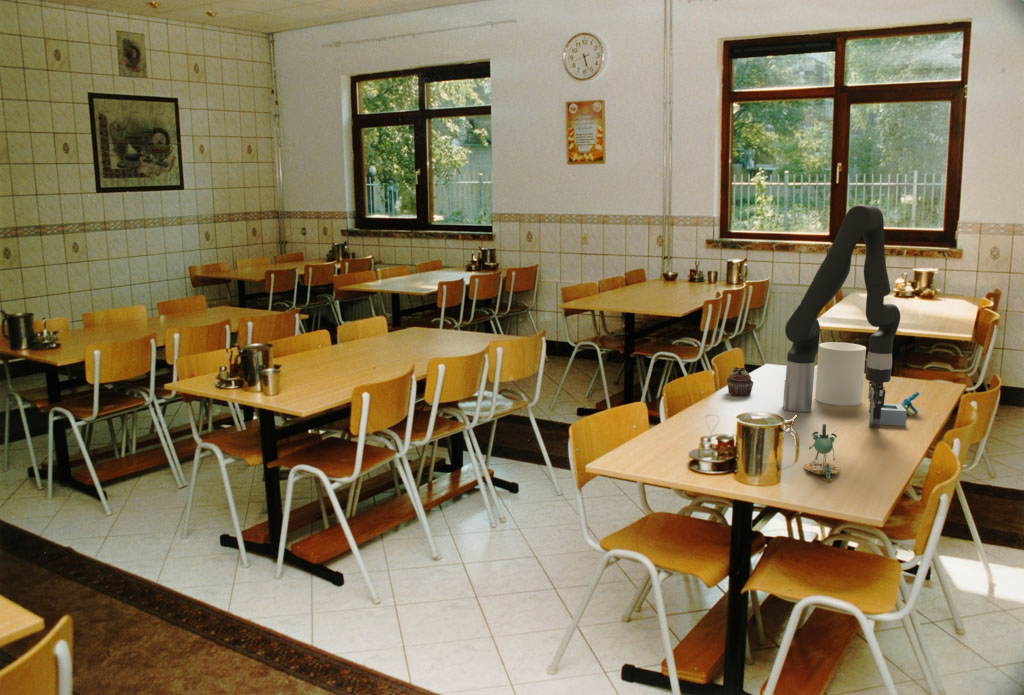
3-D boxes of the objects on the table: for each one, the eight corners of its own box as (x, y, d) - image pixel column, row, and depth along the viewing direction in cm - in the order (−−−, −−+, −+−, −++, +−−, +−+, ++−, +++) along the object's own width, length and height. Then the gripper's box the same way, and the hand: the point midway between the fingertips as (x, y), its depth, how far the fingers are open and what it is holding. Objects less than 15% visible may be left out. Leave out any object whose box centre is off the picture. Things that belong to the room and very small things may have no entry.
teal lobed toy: (898, 402, 314) (920, 387, 308) (910, 415, 313) (932, 400, 306) (888, 413, 306) (910, 397, 300) (900, 426, 305) (923, 410, 298)
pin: (869, 427, 288) (872, 397, 286) (868, 425, 291) (870, 395, 289) (879, 428, 288) (882, 398, 286) (877, 425, 290) (880, 396, 289)
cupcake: (754, 397, 327) (755, 371, 325) (727, 396, 328) (728, 370, 326) (751, 391, 336) (752, 365, 334) (725, 390, 337) (726, 364, 336)
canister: (854, 395, 331) (858, 342, 327) (867, 406, 316) (871, 351, 312) (810, 394, 333) (814, 341, 329) (820, 404, 317) (824, 349, 313)
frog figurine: (799, 480, 238) (803, 426, 237) (805, 468, 254) (808, 417, 253) (837, 485, 234) (841, 429, 233) (840, 472, 251) (844, 420, 250)
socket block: (876, 424, 292) (877, 409, 291) (871, 417, 301) (872, 402, 300) (905, 425, 291) (907, 411, 290) (899, 418, 299) (901, 404, 298)
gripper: (862, 360, 293) (858, 410, 296) (870, 369, 279) (866, 421, 282) (886, 362, 292) (882, 411, 295) (896, 371, 278) (891, 423, 281)
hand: (874, 416), depth 289 cm, fingers open, 5 cm apart
